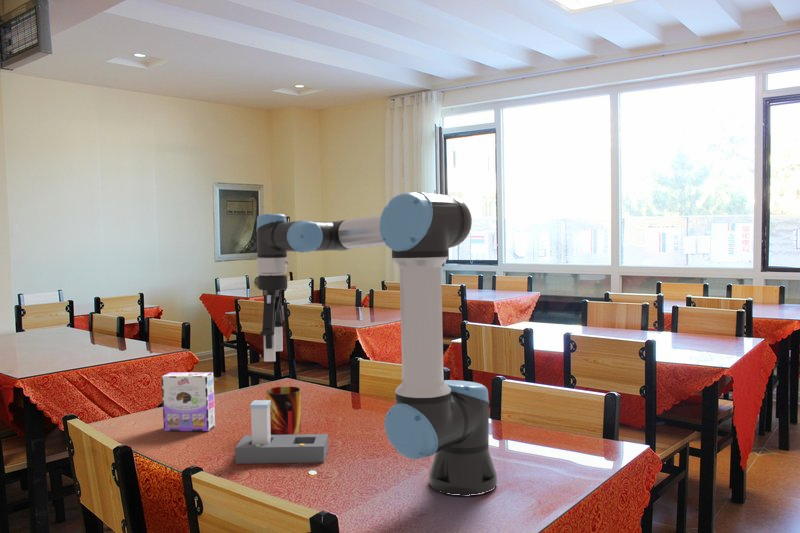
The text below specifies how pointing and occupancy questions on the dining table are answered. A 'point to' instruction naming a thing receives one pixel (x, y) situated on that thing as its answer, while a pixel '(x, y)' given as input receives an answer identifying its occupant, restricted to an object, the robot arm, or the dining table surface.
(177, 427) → the candy box
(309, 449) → the panel
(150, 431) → the dining table surface
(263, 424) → the plug
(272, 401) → the mug
